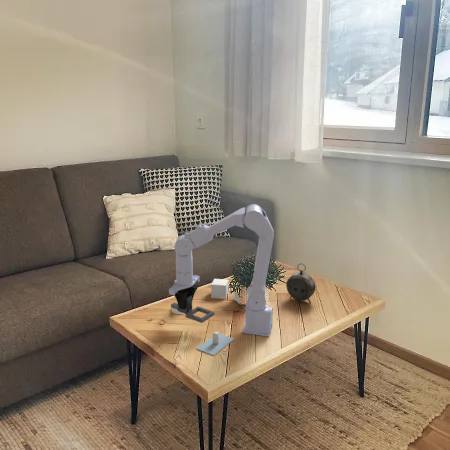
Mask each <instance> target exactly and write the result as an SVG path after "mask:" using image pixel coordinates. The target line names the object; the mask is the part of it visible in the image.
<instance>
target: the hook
mask: <svg viewBox="0 0 450 450" xmlns="http://www.w3.org/2000/svg"><path fill="white" fill-rule="evenodd" d="M176 303H177V304H178V302H176ZM170 311H171V312H172V313H173V314H176V315H186V314H185V313H182V312H179V311H178V310H177V309H174V308H171V310H170Z"/></svg>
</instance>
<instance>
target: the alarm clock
mask: <svg viewBox="0 0 450 450" xmlns="http://www.w3.org/2000/svg"><path fill="white" fill-rule="evenodd" d="M300 265H303V266H304V270H303V269H301V270H300V269H299V266H300ZM296 268H297V270H298V271H297V272H294V273H293V274H292V275H291V276H289V278H288V279H287V281H286V291H287V293H288V294H289V298H290V299H291V298H292V299H294V300H295V301H296V304H298V303H299V301H300V302H304V301H305V302H306V301H308V302H309V304H312V302H311V299H310V298H311V297H312V296H313V295H314V294H315V292H316V283H315V279H313V277H312V276H311V275H310V274H308V273H307V272H305V271H306V268H307V267H306V265H305V264H304V263H298V265H297V267H296Z"/></svg>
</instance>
